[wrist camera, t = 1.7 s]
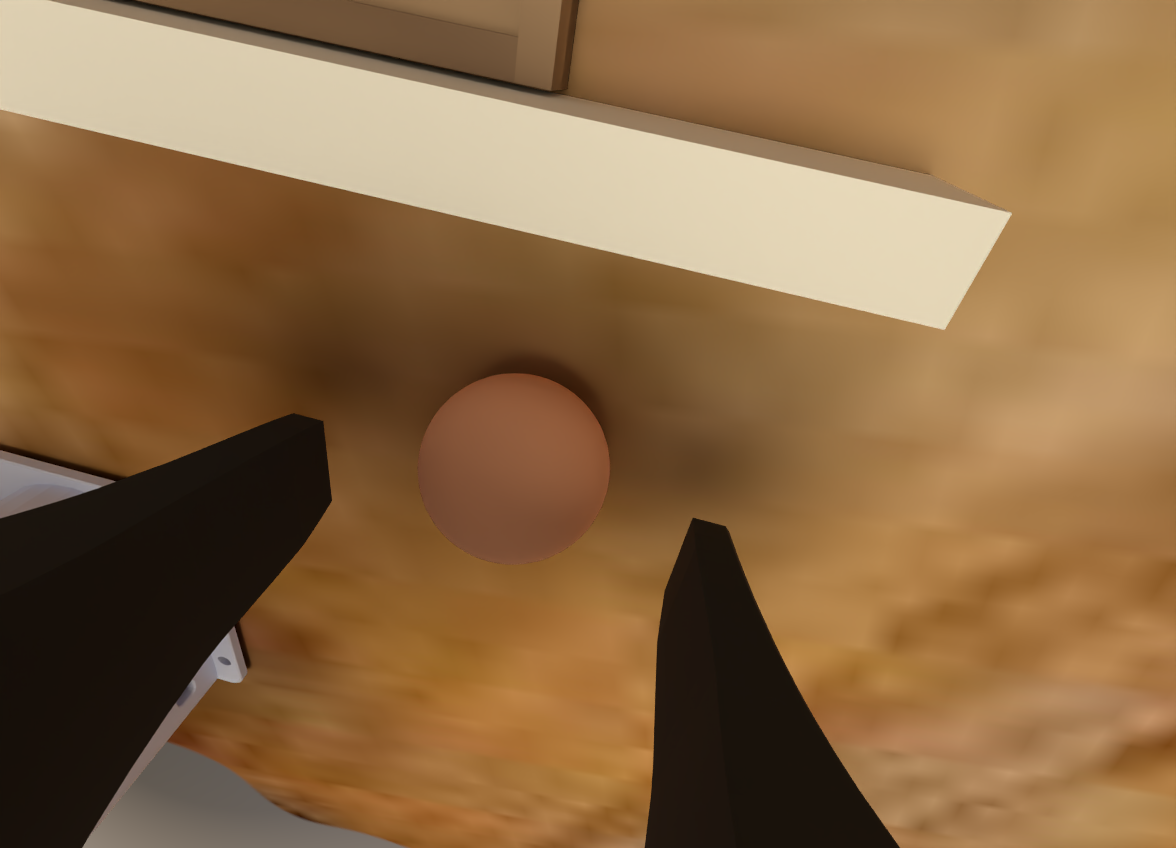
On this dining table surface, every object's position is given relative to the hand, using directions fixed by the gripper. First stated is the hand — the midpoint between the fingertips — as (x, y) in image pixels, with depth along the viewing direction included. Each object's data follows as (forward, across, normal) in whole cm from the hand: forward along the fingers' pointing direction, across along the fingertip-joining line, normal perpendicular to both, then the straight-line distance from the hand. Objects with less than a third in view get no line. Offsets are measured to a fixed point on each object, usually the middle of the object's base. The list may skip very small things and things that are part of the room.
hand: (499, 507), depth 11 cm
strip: (+3, +2, -6) cm, 7 cm away
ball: (+1, 0, 0) cm, 1 cm away
